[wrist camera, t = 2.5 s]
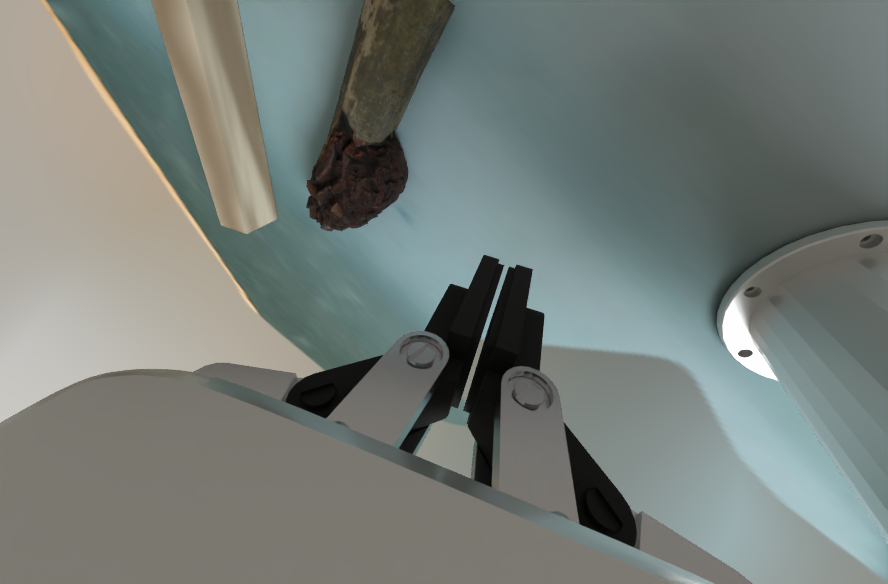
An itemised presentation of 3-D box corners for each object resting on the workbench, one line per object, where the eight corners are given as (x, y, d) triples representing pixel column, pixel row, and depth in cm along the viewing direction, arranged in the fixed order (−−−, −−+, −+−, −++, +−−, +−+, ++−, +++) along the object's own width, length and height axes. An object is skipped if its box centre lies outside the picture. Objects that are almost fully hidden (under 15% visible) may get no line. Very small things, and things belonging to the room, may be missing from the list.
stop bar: (225, -62, 20) (163, -86, 17) (277, 218, 33) (246, 233, 30) (188, -67, 21) (122, -92, 18) (253, 211, 33) (221, 225, 30)
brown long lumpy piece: (399, -42, 18) (347, -79, 14) (490, 31, 19) (467, 18, 15) (323, 196, 29) (281, 217, 25) (382, 238, 30) (351, 266, 26)
